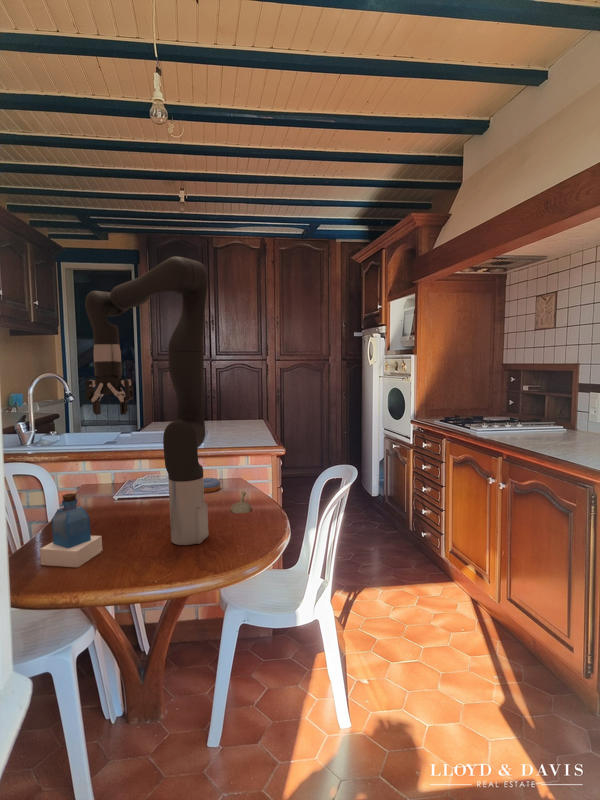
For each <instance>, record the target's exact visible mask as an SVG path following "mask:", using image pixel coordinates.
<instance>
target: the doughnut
mask: <svg viewBox="0 0 600 800" xmlns="http://www.w3.org/2000/svg"><path fill="white" fill-rule="evenodd" d="M203 481H204V494H206V493H207V494H209V493H214V492H217V491H219V489H220V488H221V481H220V480H219V479H217V478H214V477H203Z"/></svg>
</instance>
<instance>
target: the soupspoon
mask: <svg viewBox="0 0 600 800" xmlns="http://www.w3.org/2000/svg"><path fill="white" fill-rule="evenodd" d="M240 494H241V497H240V500H239V501H238V502H236V503H233V504H232V505H231V507H230V511H231V513H233V514H246V513H247V514H248V513H250V512H251V510H252V505H251V503H249V502H247V501H244V496H245V495H246V494H247V493H246V491H244V490H243V491H241V492H240Z"/></svg>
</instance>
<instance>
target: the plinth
mask: <svg viewBox="0 0 600 800" xmlns="http://www.w3.org/2000/svg"><path fill="white" fill-rule="evenodd" d="M102 537H103V536H102V535H91V540H90V541H87V542H84V543H82V544H79V545H76V546H74V547H71V548H65V547H62V546H59V545H55V544H53V541H51V542H50V543H48V544H47V545H44V546H43V547H40V549H39V554H40V556H39V557H40V565H41V566H52V567H53V566H54V567H69V568H79V567H81V566H82V565H84V564H85V563H87V562H88V561H90V560H92V559H93V558H94V557H97V555H99V554H100V553H102V552H103V540H102V539H103V538H102ZM101 551H102V552H101Z"/></svg>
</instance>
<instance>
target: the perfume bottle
mask: <svg viewBox="0 0 600 800" xmlns="http://www.w3.org/2000/svg"><path fill="white" fill-rule="evenodd" d="M76 497H77V494H76V493H72V492H71V493H65V494H63V495H62V500H61V505H62V506H63V507H61V508H58V509H57V510H56V512H55V513H54V515H53V517H52V519H51V528H52V529H51V530H52V542H53V544H55V545H59V546H62V547H65V548H71V547H74V546H76V545H79V544H82V543H84V542H87V541H90V540H91V536H92V534H91V522H90V515H89V514H88V512H86V510H85V509H84V507H82V506H79V505H77V504H78V498H76Z"/></svg>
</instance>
